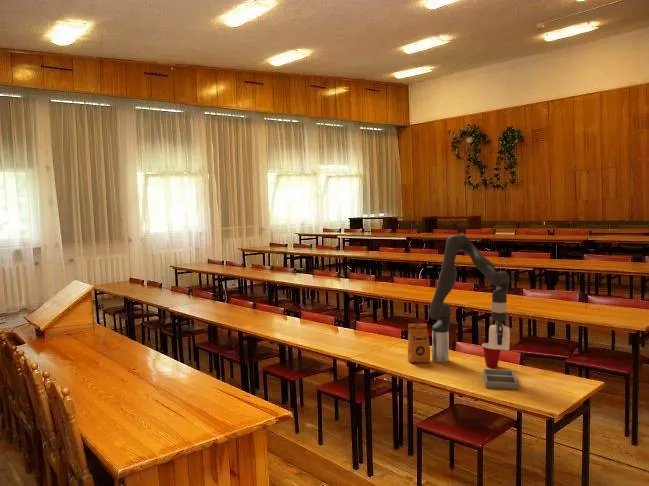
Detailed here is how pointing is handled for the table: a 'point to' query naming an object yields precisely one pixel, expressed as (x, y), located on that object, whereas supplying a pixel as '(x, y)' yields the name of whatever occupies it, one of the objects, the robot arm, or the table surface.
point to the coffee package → (418, 343)
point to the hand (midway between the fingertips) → (499, 343)
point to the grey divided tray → (500, 379)
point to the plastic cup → (491, 356)
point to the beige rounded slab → (493, 338)
